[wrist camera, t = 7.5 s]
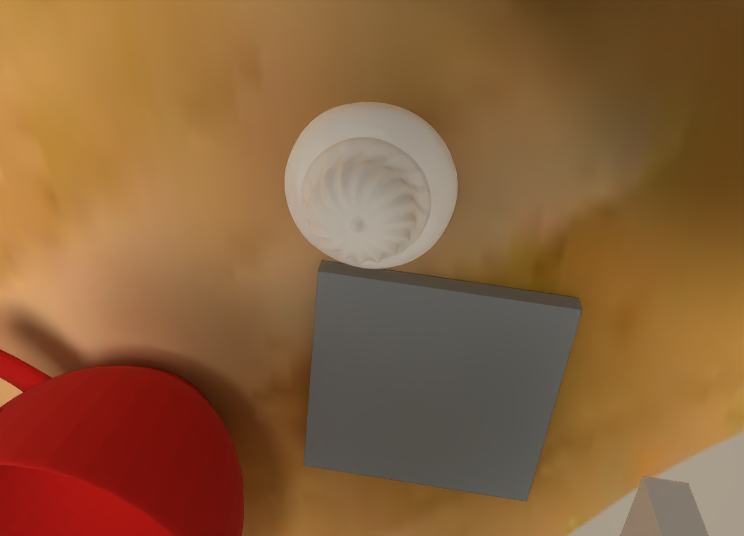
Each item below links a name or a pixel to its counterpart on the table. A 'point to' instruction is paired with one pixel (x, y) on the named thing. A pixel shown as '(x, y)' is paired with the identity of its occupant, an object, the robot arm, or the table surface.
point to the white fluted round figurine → (371, 184)
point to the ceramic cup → (114, 456)
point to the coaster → (434, 378)
